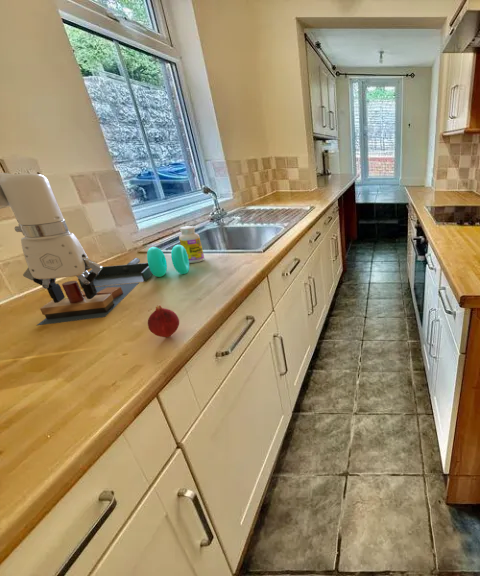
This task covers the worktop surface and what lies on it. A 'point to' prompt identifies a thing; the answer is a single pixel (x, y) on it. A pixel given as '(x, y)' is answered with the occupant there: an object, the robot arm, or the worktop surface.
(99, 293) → the clod
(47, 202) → the robot arm
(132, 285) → the mat
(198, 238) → the supplement bottle
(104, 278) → the dustpan
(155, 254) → the donuts
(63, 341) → the worktop surface
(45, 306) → the wooden board with knob
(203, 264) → the worktop surface
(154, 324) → the onion
